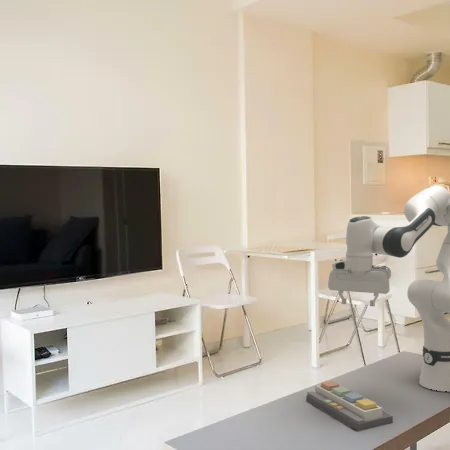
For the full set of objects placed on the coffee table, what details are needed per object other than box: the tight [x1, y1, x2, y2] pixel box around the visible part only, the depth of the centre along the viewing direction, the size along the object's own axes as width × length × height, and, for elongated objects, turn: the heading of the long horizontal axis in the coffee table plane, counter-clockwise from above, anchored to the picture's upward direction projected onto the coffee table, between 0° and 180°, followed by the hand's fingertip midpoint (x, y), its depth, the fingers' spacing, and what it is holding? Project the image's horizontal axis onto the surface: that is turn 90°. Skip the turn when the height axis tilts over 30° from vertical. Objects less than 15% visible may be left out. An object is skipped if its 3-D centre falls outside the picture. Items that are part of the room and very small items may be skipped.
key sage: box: [332, 385, 352, 397], centre depth 181 cm, size 4×4×2 cm
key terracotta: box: [320, 380, 340, 391], centre depth 186 cm, size 4×4×2 cm
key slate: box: [344, 391, 364, 404], centre depth 175 cm, size 4×4×2 cm
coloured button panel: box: [305, 384, 394, 432], centre depth 178 cm, size 14×27×5 cm, turn 26°
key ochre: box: [356, 398, 377, 411], centre depth 170 cm, size 4×4×2 cm
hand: (358, 304), depth 183 cm, fingers open, 8 cm apart
